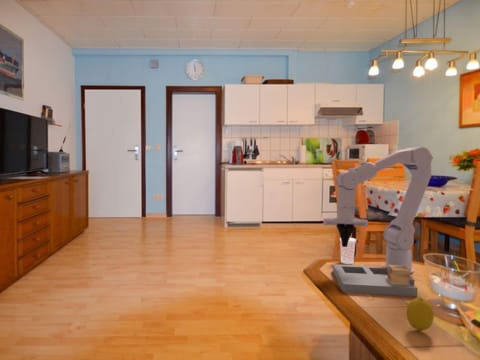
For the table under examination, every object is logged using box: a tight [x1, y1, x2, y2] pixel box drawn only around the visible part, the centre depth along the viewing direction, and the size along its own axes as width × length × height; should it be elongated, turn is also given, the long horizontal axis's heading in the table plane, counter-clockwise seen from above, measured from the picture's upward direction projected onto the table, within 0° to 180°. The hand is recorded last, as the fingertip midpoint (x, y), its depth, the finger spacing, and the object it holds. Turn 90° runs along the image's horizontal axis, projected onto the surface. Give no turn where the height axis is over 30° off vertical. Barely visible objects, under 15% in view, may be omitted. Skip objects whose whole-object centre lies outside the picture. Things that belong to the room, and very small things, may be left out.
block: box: [387, 265, 411, 284], centre depth 111 cm, size 5×5×4 cm
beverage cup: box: [339, 237, 357, 265], centre depth 138 cm, size 6×6×14 cm
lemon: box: [406, 296, 434, 333], centre depth 84 cm, size 6×6×8 cm
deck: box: [332, 263, 418, 297], centre depth 116 cm, size 20×21×4 cm
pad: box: [385, 276, 411, 285], centre depth 111 cm, size 7×6×1 cm
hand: (344, 246), depth 125 cm, fingers closed
